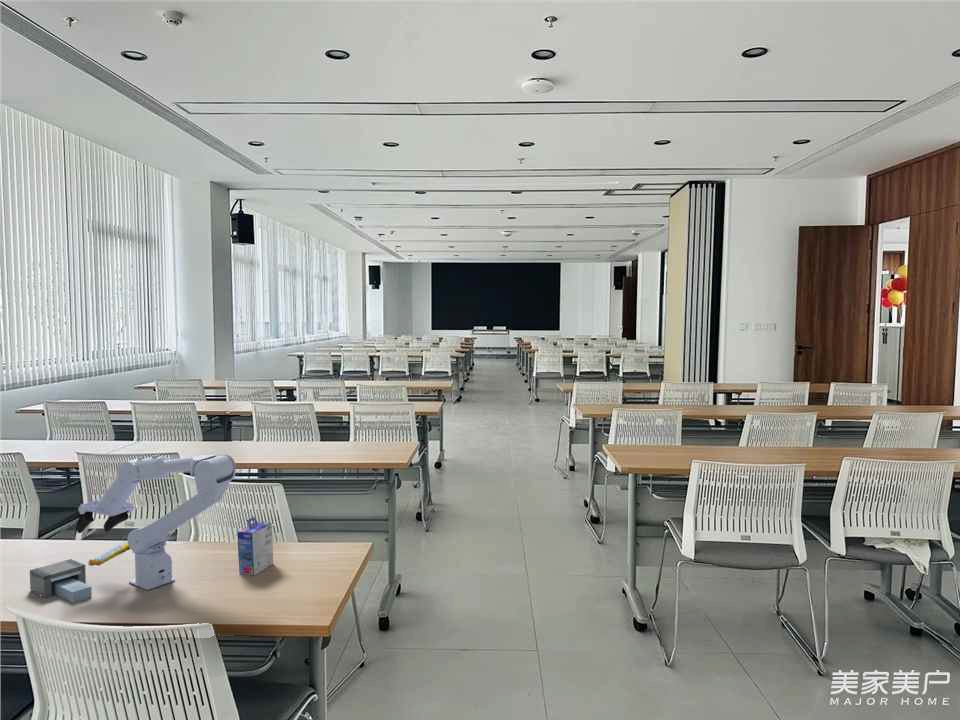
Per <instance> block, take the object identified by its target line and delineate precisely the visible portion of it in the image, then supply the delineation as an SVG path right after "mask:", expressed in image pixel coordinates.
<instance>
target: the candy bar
mask: <svg viewBox="0 0 960 720" xmlns="http://www.w3.org/2000/svg"><path fill="white" fill-rule="evenodd" d="M129 549H130V547H129V545H128V542H123V543H122V544H119V545H117V546H115V547H113V548H112V549H109V550H108V551H105V552H104V553H102V554H101V555H99V556H97V557H95V558H93V559H89V560H88V564H89V565H101V564H103V563H105V562H107V561H109V560H111V559H113V558H115V557H117V556H118V554H119V555H121V554H122V553H124V552H126V551H128V550H129Z"/></svg>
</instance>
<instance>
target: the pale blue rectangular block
mask: <svg viewBox="0 0 960 720" xmlns="http://www.w3.org/2000/svg"><path fill="white" fill-rule="evenodd" d="M92 590H93V589H92V586H91V585H89V584H87V583H86V584H85V583H83V582H80V581H78V580H76V579H74V578H72V577H67V578H63V579H60V580H56V581H53V582H52V592H53V593H52V594H54V593H55V594H54V595H57V596H59V597H61V598H63V599H65V600H67V601H68V602H71V603H75V602H79V601H82V600H85V598H86V599H89V598H92V597H91V596H92V595H93V593H92ZM88 597H89V598H88Z"/></svg>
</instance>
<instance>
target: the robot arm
mask: <svg viewBox="0 0 960 720" xmlns="http://www.w3.org/2000/svg"><path fill="white" fill-rule="evenodd" d="M236 465H237V464H236V462H235V459H234V458H233V457H232V456H231V455H230V454H225V453H223V454H222V453H221V454H220V455H218V454H216V453H215V454H212V453H211V454H202V455H201V454H199V455H194V456H188V457H182V458H181V457H180V458H176V459H169V458H168V457H166V456H164V455H161V454H153V455H152V457H144V456H140V457H137V458H134V459H131V460H126V461H124V462H121V463H120V464H119V465H118V467H117V470H116V471H117V475H116V476H115V478H114V479H113V481H112V482H111V484H110V485H109V486H108V488H107V489H106V491H104V494H103V495H101V496H100V497H99V499H97V500H96V499H95V500H92V501H90V502H87V503H81V504H80V506H78V508H77V510H78V512H79V513H78V520H77V523H76V527H75V529H76V532H77V533H78V534H81V533H82V532H84V531H85V529H86V528H87V527H88V526H89V525H90V524H91V523H93V522H95V519H94V517H93V515H94V514H99V515H102V516H103V515H104V516H108V517H107V519H106V521H105V522H104V525H103V527H102V528H104V531H105V533H109V532H110V531H111V530H112V529H114V528H115V527H116V526H118V525H119V524H121V523H123V522H125V521H127V520H128V519H129V517H130V516H129V514H132V513H133V511H134V510H135V509H136V508H135V506H134V504H133V503H131V502H127V500H128V499H129V498H130V496H131V494H132V493H133V492H134V491H135V489H136V488H137V486H138V485H139V483H140V482H141V481H142V480H144V481H145V480H154V479H156V480H157V479H163V478H166V477H168V476H169V475H170V473H175V472H176V473H178V472H189V474H190V477H194V481H195V487H196V492H197V493H196V494H195V495H193V496H192V497H190V498H188V499H187V500H185V501H184V502H182V503H181V504H180V505H178V506H177V507H175V508H173V509H172V510H171V511H169V512H168V513H165V514H164V515H163V516H161V517H160V518H158V519H157V520H155V521H153V522H151V523H149V524H146V525H143V526H141V527H139V528H135V529H132V530H131V531H130V532H129V533H128V535H127V543H128V545H129V547H130V548H129V549H130V550H131V551H132V553H133V554H134V568H135V569H134V570H135V571H134V572H135V574H134V575H135V577H134V578H133V579H130V580H128V583H129V584H132V585H135V586H137V587H139V588H141V589H144V590H147V591H148V590H151V589H155V588H157V587H160V586H163V585H166V584H170V583H172V582H175V581H176V578H174V577H173V565H172V564H173V563H172V561H173V560H172V557H171V556H170V555H169V554H168V553H167V552H166V549H165V546H167V541H168V540H169V539H170V537H171V535H172V534H173V533H175V532H176V530H177V529H179V528H180V527H181V526H183V525H185V524H186V523H188V522H189V521H191V520H192V519H194V518H195V517H197V516H199V515H200V514H202V513H203V512H205V511H206V510H208V509H210V508H211V507H213V506H214V505H215V504H217V503H219V502H221V500H222V498H223V496H224V494H225V492H226V490H227V488H228V486H229V484H230V482H231V481H232V480H233V479H234V478H235V477H236Z"/></svg>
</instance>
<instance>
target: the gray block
mask: <svg viewBox="0 0 960 720" xmlns="http://www.w3.org/2000/svg"><path fill="white" fill-rule="evenodd" d="M67 577H72V578H74V579H76V580H78V581H80V582H83V583H85V584H87V581H86V580H87V577H86V564H84V563H82V562H80V561H76V560H74V559H67V560H62V561H59V562H55V563H52V564H47V565H44V566H41V567H37V568H33V569H30V570H29V588H30V589H29V591H30V590H31V591H30V592H32V591H33V592H32V593H34V592H35V593H34V594H36V593H37V594H36V595H38V594H39V595H38V596H40V595H41V596H40V597H42V596H43V597H42V598H44V597H46V598H49V597H52V596H53V593H52V582H53V581H56V580H60V579H63V578H67ZM51 595H52V596H51ZM48 596H49V597H48Z"/></svg>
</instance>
